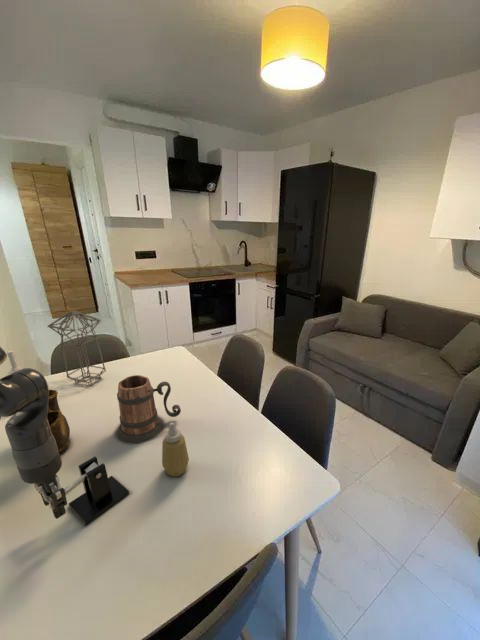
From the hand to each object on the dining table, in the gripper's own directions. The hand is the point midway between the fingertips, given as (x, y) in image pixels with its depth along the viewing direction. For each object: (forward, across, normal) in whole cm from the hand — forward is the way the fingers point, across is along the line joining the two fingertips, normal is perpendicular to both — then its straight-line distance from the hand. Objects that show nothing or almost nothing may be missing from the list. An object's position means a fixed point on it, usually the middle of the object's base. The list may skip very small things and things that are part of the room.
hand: (55, 508), depth 71 cm
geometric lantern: (+7, -68, +40) cm, 79 cm away
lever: (-2, 0, +5) cm, 6 cm away
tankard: (+7, -17, +38) cm, 42 cm away
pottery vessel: (+7, -32, +11) cm, 34 cm away
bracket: (+7, 0, +10) cm, 12 cm away
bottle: (+7, -65, +15) cm, 67 cm away
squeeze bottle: (+7, +8, +30) cm, 32 cm away
